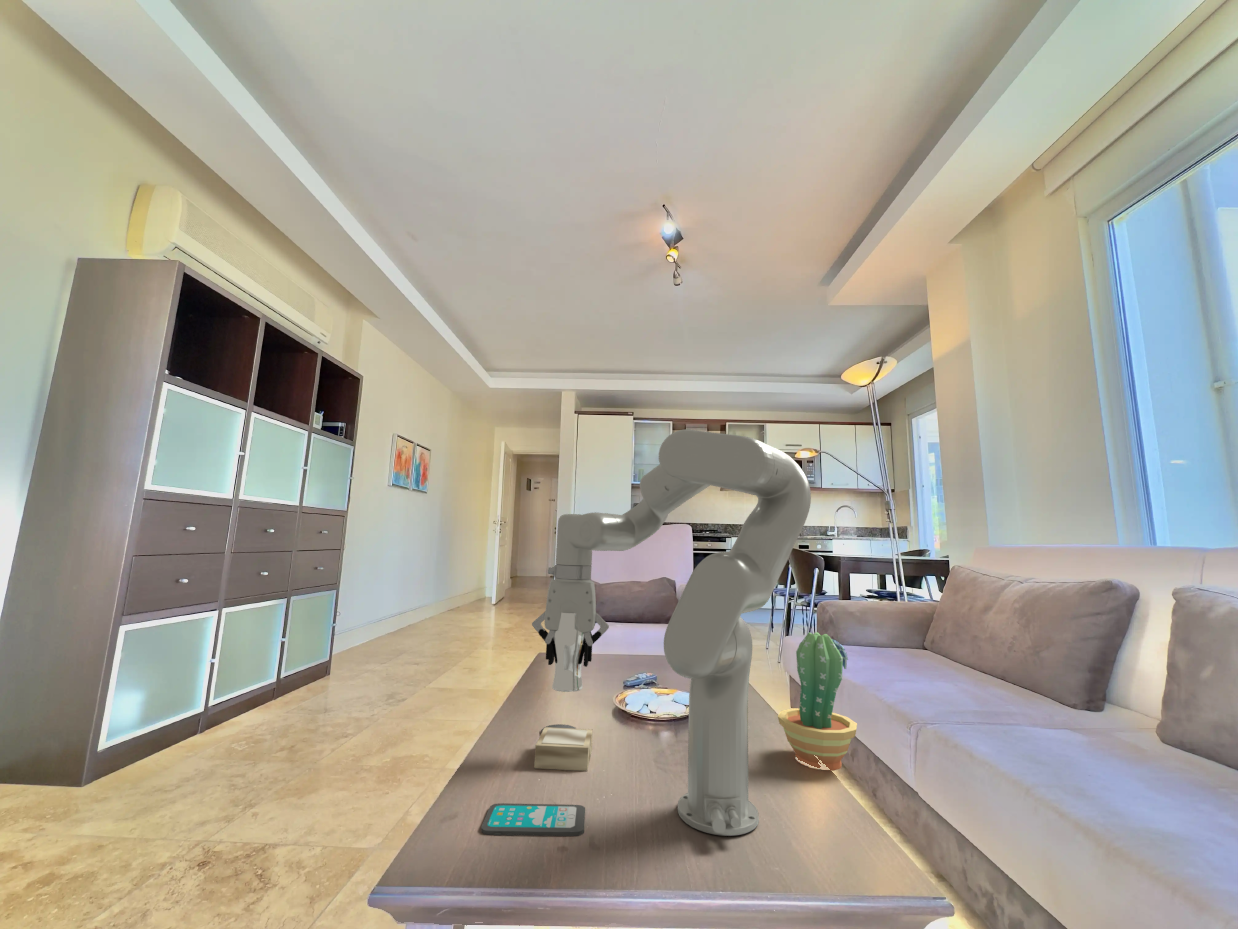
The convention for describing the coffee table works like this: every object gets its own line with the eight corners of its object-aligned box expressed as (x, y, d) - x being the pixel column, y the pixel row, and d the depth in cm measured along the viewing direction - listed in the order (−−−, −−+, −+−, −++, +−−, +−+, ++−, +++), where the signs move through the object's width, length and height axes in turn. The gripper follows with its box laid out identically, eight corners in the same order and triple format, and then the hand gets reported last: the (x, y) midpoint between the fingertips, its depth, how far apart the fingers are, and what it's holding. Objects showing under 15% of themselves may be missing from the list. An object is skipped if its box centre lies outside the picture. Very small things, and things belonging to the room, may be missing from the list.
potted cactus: (869, 782, 96) (863, 642, 100) (782, 772, 99) (780, 636, 103) (849, 751, 111) (845, 630, 114) (774, 743, 114) (773, 625, 118)
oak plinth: (587, 770, 96) (588, 747, 97) (534, 768, 97) (535, 744, 97) (591, 750, 106) (592, 728, 107) (543, 747, 107) (544, 726, 107)
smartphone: (583, 831, 75) (479, 830, 74) (583, 839, 74) (478, 837, 74) (585, 803, 83) (491, 801, 83) (585, 809, 83) (491, 808, 82)
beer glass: (587, 684, 107) (590, 609, 109) (581, 693, 100) (584, 613, 102) (554, 682, 107) (557, 608, 110) (546, 691, 101) (550, 612, 103)
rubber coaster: (575, 740, 111) (575, 737, 111) (538, 738, 112) (538, 736, 112) (579, 727, 119) (579, 725, 119) (544, 725, 120) (544, 723, 120)
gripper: (528, 573, 104) (522, 666, 101) (614, 576, 103) (610, 670, 100) (535, 571, 111) (529, 658, 108) (615, 574, 111) (612, 662, 108)
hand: (568, 663), depth 104 cm, fingers closed on beer glass, 6 cm apart
